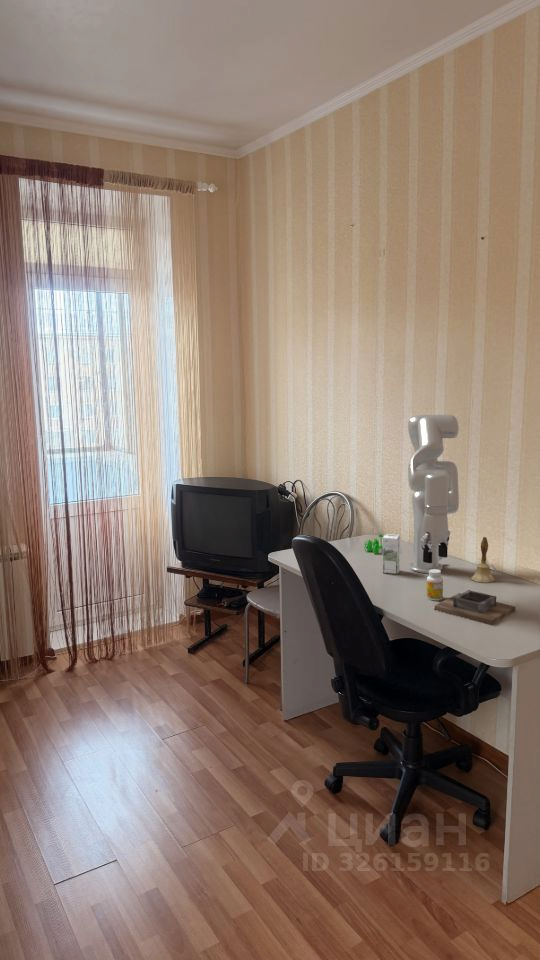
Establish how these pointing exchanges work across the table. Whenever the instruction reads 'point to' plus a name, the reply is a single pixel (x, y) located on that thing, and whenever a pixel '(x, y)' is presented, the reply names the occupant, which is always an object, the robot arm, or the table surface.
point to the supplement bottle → (434, 585)
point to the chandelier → (374, 545)
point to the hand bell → (483, 566)
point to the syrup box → (391, 553)
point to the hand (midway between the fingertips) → (435, 559)
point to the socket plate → (476, 607)
